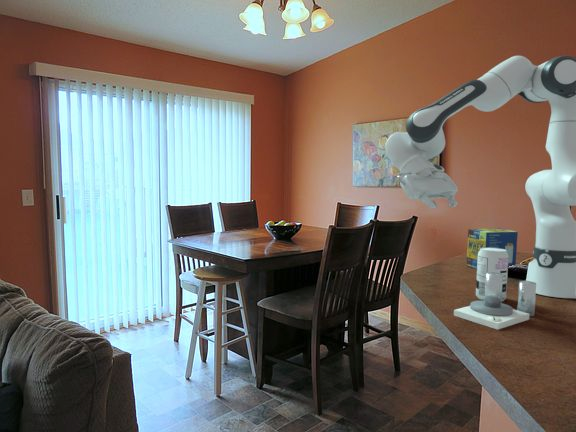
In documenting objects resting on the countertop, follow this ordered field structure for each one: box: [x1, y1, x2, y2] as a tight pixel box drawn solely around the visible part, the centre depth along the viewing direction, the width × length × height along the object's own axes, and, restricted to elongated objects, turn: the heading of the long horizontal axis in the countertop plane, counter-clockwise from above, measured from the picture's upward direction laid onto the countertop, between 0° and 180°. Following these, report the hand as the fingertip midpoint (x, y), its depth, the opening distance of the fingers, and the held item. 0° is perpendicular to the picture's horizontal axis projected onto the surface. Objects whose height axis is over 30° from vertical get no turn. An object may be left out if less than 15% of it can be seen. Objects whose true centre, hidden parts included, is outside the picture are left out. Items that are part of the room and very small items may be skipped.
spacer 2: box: [516, 280, 537, 317], centre depth 111 cm, size 4×4×8 cm
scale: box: [453, 300, 530, 331], centre depth 108 cm, size 14×12×2 cm
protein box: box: [466, 227, 519, 270], centre depth 168 cm, size 10×15×16 cm
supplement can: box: [475, 248, 509, 303], centre depth 124 cm, size 8×8×15 cm
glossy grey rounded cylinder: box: [483, 272, 503, 308], centre depth 109 cm, size 4×4×8 cm
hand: (444, 206), depth 123 cm, fingers open, 8 cm apart
